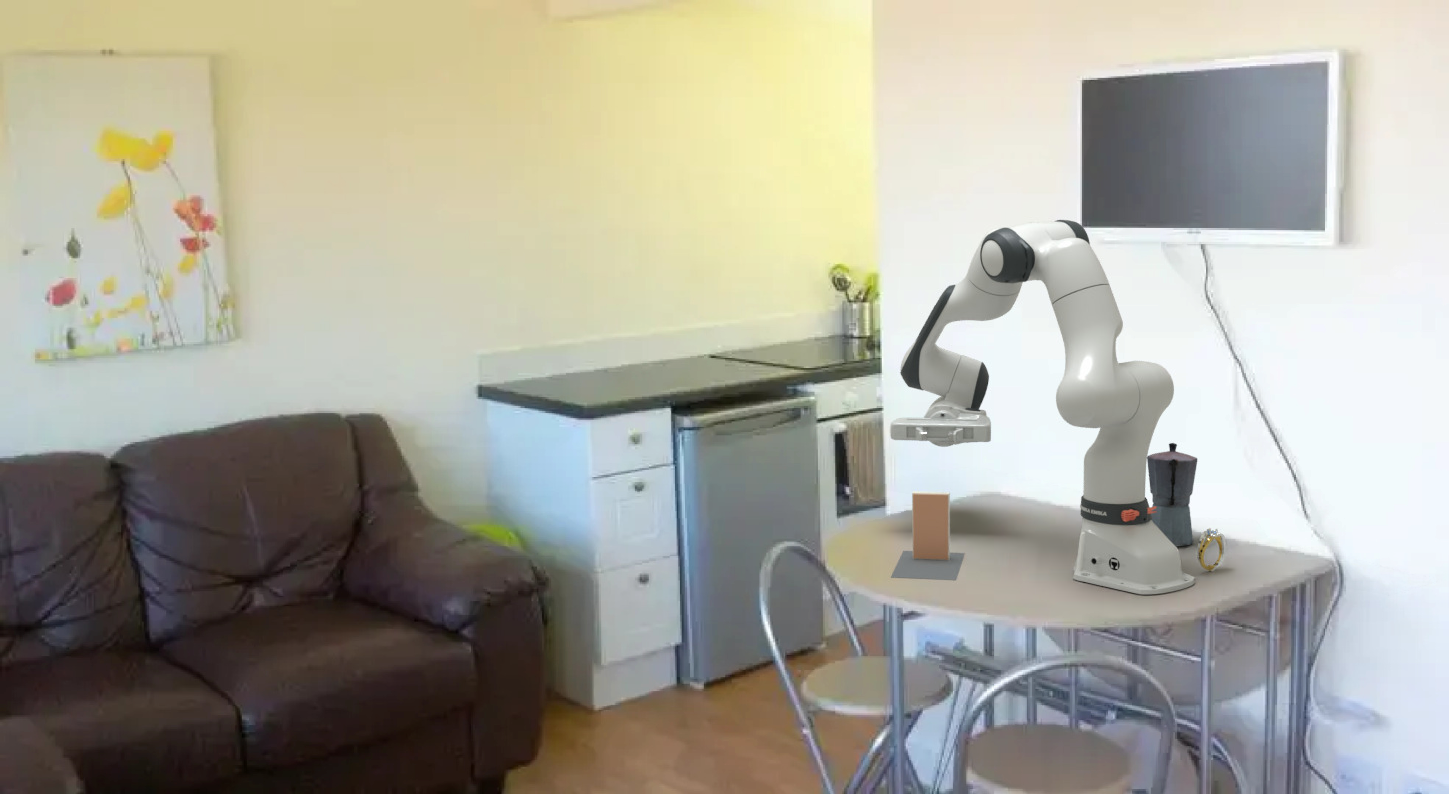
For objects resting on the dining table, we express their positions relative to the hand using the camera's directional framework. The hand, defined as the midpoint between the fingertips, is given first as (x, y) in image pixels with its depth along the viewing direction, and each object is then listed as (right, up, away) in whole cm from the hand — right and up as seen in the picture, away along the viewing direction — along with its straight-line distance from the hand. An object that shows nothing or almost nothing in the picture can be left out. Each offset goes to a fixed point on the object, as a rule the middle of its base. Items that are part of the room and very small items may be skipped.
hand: (937, 437), depth 304 cm
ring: (+48, -24, -20) cm, 57 cm away
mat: (-3, -24, -12) cm, 28 cm away
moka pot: (+46, -21, 0) cm, 51 cm away
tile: (-2, -23, -8) cm, 25 cm away
